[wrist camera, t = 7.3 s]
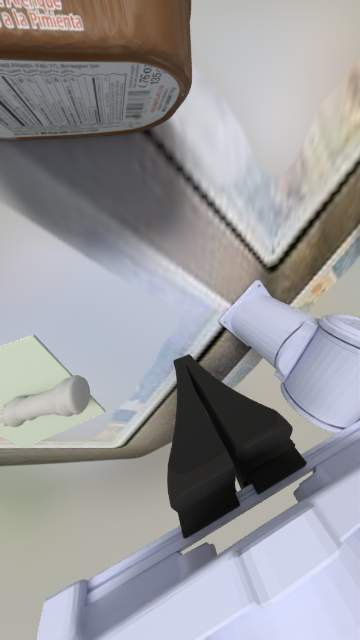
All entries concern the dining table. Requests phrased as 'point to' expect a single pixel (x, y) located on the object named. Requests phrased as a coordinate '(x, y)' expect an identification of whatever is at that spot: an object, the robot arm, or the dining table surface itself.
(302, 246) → the dining table surface
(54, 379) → the mat
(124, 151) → the dining table surface
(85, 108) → the tin
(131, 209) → the dining table surface
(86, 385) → the rook chess piece
